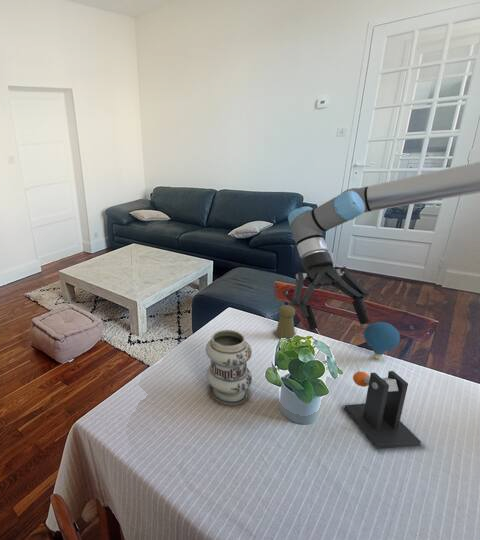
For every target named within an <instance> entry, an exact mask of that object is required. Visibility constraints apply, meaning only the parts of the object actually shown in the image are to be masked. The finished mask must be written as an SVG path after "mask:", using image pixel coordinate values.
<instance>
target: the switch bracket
mask: <svg viewBox="0 0 480 540" xmlns="http://www.w3.org/2000/svg"><path fill="white" fill-rule="evenodd" d="M369 377H370V380H369V385H368V386H367V390H366V391H367V392H366V397H365V403H354V404H353V403H352V404H345V405H344V408H343V409H344V411H345V412H346V413H347V414H348V415H349V417H350V418H351V419H352V420H353V421H354V423H355V424H356V425H357V426H358V428H360V430H361V431H362V432H363V433H364V435H366V437H367V438H368V440H369V441H371V443H372V444H373V445H374V447H375V448H376V449H377V450H380V449H397V448H409V447H419V446H421V443H422V441H421V440H420V439H419V438H418V437H417V436H416V435H415V434H414V433H413V432H412V431H411V430H410V429H409V428H408V427H407V426H406V425H405V424H404V423H403V422H402V421H401V418H402V413H403V410H404V404H405V400H406V396H407V391H408V387H409V383H408V382H407V381H406V380H405V379H403V378H402V377H401V376H400V375H399V374H397V373H396V372H395V371H394V370H389V371H388V372H387V378H390V379H396V382H397V386H398V391H391V392H388V389H389V385H388V384H387V383H386V382H385V381H384V380H383V379H382V378H383V377H381V376H379V375H378V374H377V373H376V372H370V374H369Z"/></svg>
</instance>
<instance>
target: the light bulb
mask: <svg viewBox="0 0 480 540" xmlns="http://www.w3.org/2000/svg"><path fill="white" fill-rule="evenodd" d="M363 339H364V341H365V342H366V344H367V345H368V346H369V347H370V348H372V350H373V351H372V352H373V357H374V359H376V360H381V359H383V358H382V357H383V355H384V354H385V352H389V351H392V350H394V349H396V348H397V347H398V346H399V344H400V342H401V335H400V332H399V331H398V329H397V328H396V327H395V326H394V325H392V324H391V323H388V322H384V321H376V322H372V323H370V324H368V325H367V326H366V327H365V329H364V332H363Z"/></svg>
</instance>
